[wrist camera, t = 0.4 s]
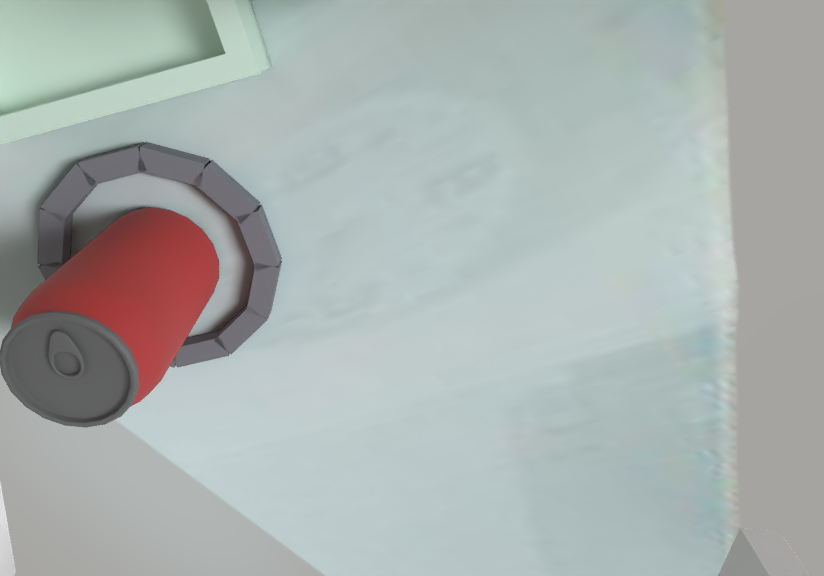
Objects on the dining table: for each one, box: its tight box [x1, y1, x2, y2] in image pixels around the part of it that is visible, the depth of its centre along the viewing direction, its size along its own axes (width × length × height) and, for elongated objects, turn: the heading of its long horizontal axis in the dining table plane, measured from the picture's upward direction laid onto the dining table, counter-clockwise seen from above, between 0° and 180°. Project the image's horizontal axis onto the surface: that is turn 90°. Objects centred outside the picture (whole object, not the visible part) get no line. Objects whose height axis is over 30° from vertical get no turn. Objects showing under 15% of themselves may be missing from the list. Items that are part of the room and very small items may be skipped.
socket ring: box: [38, 142, 282, 367], centre depth 37 cm, size 13×13×1 cm
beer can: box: [0, 208, 219, 427], centre depth 32 cm, size 7×7×12 cm
